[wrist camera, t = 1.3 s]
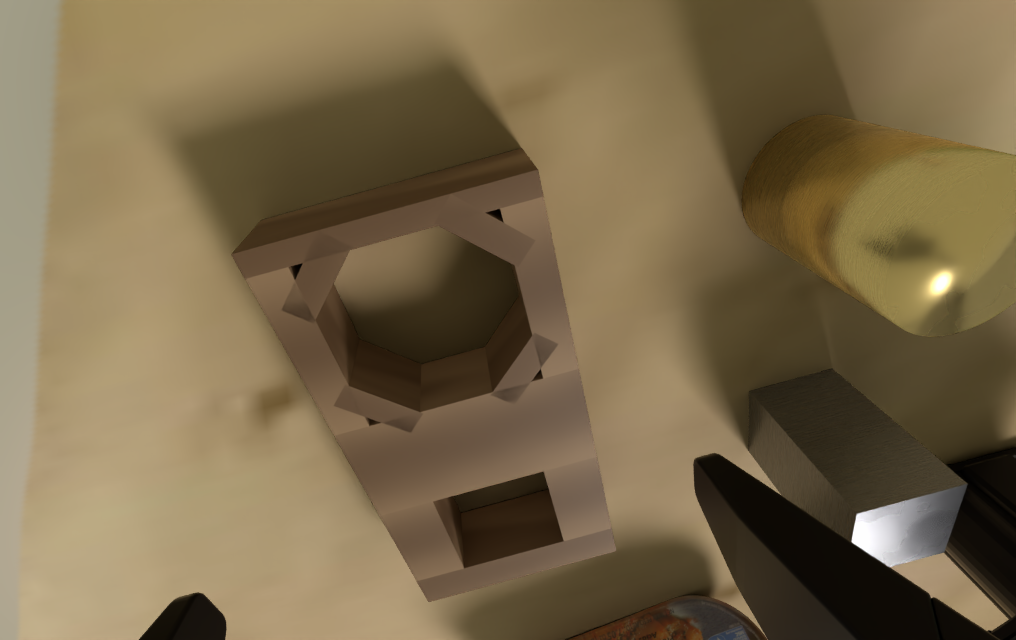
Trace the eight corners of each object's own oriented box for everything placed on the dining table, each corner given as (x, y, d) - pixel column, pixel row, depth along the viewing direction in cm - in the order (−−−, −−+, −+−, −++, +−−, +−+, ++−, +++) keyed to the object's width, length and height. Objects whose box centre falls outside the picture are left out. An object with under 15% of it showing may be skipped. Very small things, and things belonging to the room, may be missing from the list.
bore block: (597, 499, 26) (616, 551, 24) (428, 545, 26) (428, 602, 24) (521, 148, 17) (537, 169, 14) (261, 219, 17) (231, 254, 14)
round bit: (859, 225, 20) (1040, 310, 14) (741, 258, 20) (873, 356, 14) (875, 98, 18) (1103, 134, 12) (741, 135, 18) (901, 190, 12)
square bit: (824, 429, 26) (944, 552, 20) (748, 450, 26) (844, 579, 20) (832, 368, 24) (967, 483, 18) (749, 391, 24) (856, 513, 18)
